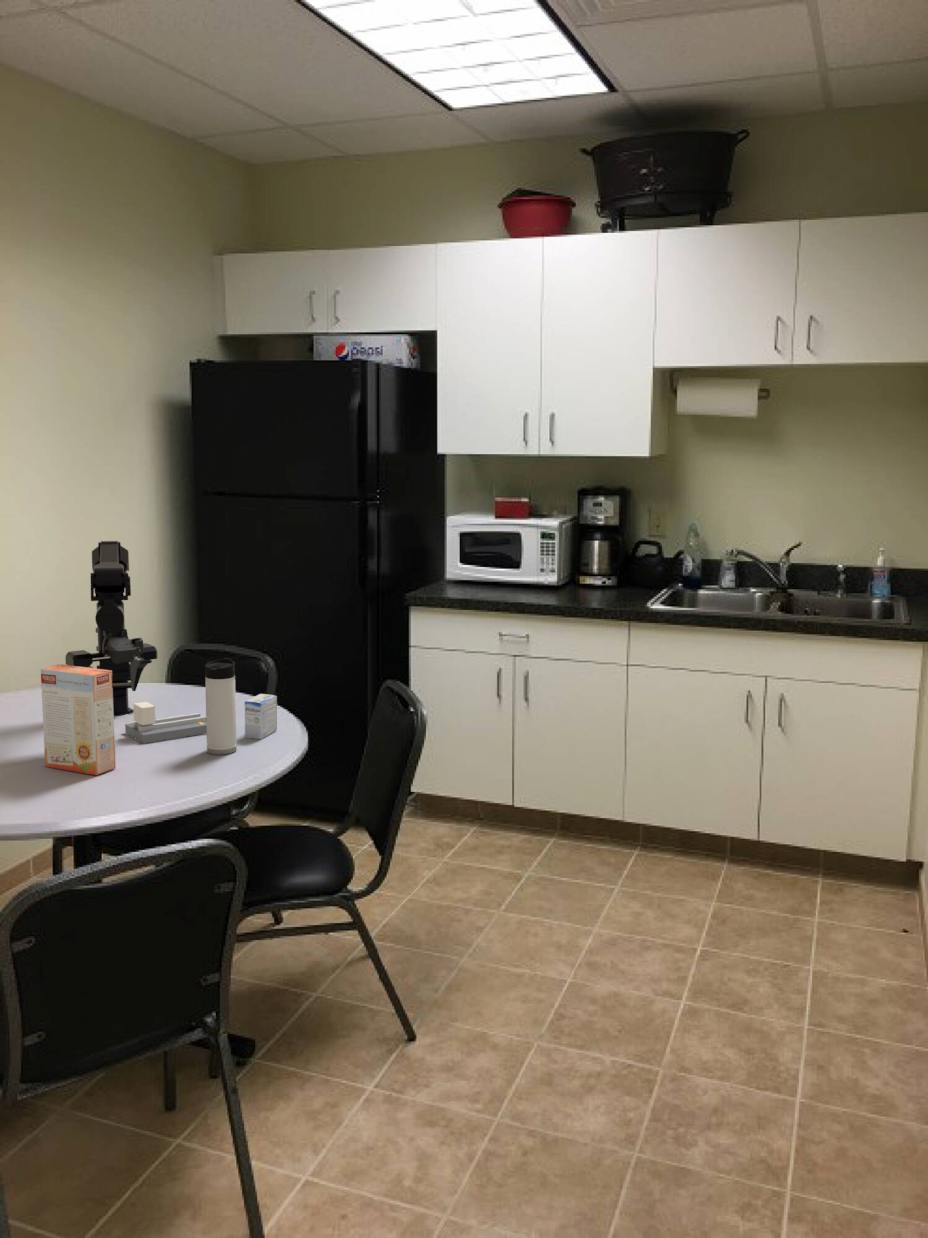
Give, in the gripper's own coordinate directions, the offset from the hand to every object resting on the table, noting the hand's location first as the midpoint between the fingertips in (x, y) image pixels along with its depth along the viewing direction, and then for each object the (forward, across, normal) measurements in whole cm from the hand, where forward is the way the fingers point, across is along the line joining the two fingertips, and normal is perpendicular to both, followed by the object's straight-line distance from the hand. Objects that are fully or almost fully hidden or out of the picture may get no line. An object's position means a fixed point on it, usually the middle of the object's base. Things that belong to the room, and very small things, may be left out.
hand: (113, 693), depth 237 cm
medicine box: (+11, +29, -13) cm, 34 cm away
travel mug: (+11, +16, -20) cm, 28 cm away
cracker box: (+11, -13, -14) cm, 22 cm away
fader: (+9, +7, 0) cm, 11 cm away
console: (+11, +13, 0) cm, 17 cm away
